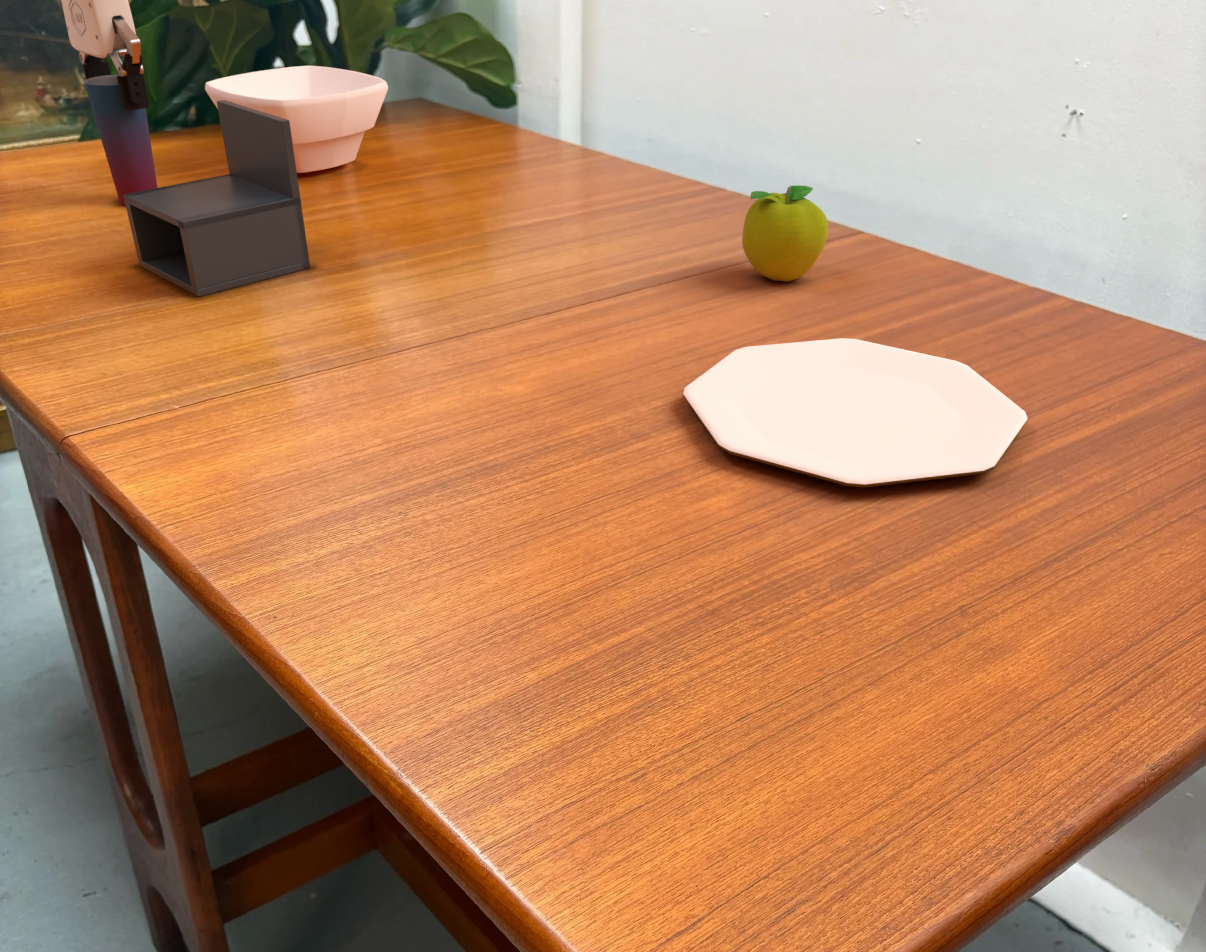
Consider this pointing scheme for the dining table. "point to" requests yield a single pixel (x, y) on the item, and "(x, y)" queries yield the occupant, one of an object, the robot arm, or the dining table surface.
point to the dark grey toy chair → (227, 212)
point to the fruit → (784, 233)
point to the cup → (122, 137)
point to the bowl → (311, 108)
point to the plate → (855, 412)
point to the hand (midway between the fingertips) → (120, 102)
